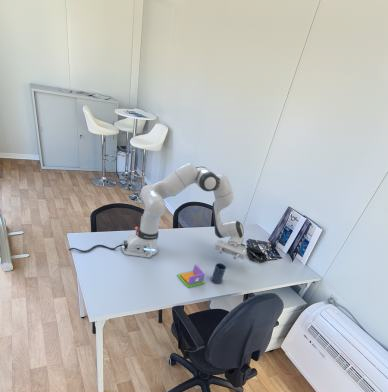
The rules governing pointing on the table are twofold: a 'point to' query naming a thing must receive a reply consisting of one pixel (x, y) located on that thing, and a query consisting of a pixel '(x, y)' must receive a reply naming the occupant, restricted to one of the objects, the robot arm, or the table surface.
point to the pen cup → (218, 273)
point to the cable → (254, 255)
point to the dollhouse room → (193, 277)
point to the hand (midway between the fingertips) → (227, 255)
